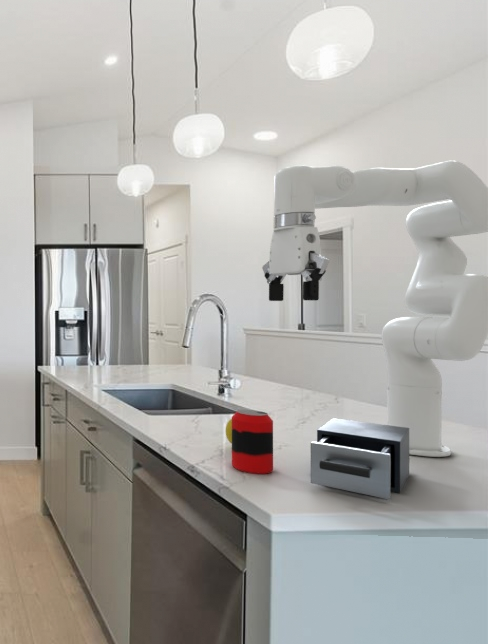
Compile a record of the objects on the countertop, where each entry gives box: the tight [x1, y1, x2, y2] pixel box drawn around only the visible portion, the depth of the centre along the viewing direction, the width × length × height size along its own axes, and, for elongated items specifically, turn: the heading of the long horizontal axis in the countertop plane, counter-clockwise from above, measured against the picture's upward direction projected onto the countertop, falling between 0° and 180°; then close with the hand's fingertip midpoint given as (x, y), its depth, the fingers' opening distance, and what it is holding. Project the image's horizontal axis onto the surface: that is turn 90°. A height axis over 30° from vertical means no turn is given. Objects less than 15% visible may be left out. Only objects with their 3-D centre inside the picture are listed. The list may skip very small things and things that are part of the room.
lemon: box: [225, 418, 232, 445], centre depth 122 cm, size 6×6×8 cm
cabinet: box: [316, 417, 410, 494], centre depth 102 cm, size 15×13×10 cm
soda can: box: [231, 409, 274, 475], centre depth 107 cm, size 8×8×12 cm
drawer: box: [310, 435, 395, 500], centre depth 95 cm, size 18×11×8 cm, turn 132°
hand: (292, 300), depth 111 cm, fingers open, 9 cm apart
